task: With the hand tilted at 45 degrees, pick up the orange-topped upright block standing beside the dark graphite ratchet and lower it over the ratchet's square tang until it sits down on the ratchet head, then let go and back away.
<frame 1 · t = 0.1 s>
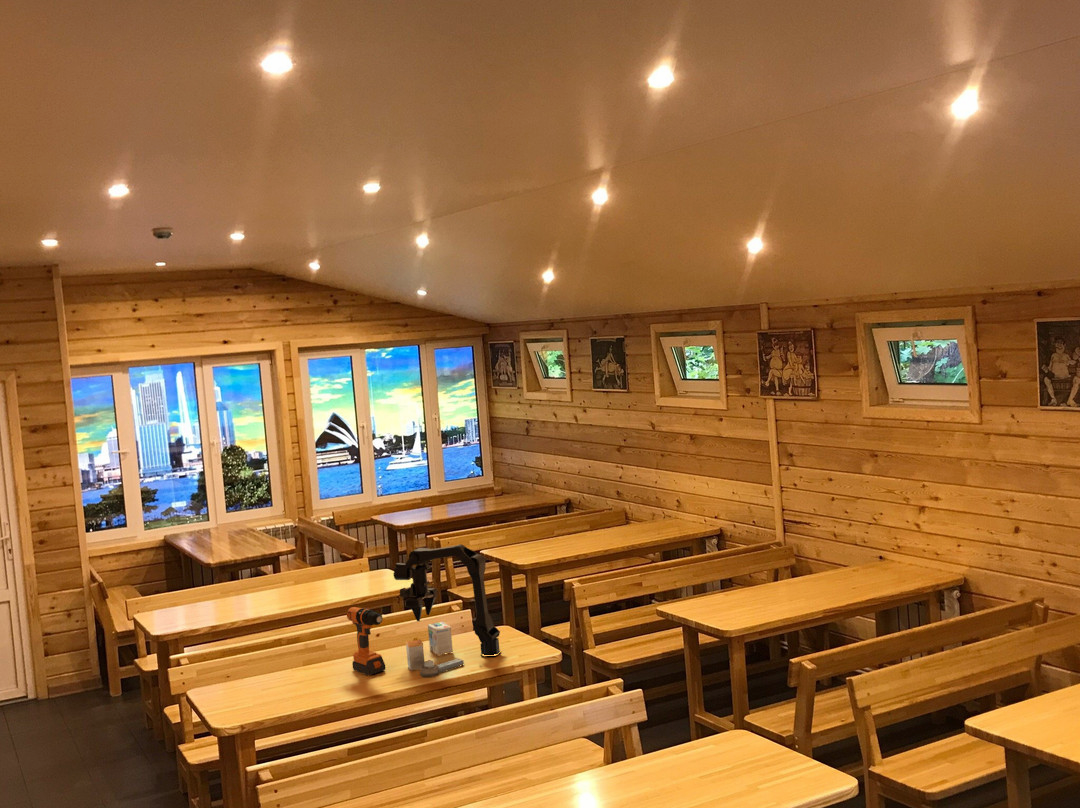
hand: (423, 618, 415), 15 cm above the table, tool pointing down, fingers open, 9 cm apart
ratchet: (429, 674, 388), on the table
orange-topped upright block: (416, 667, 398), on the table
power drill: (372, 672, 397), on the table
light bulb box: (441, 652, 417), on the table
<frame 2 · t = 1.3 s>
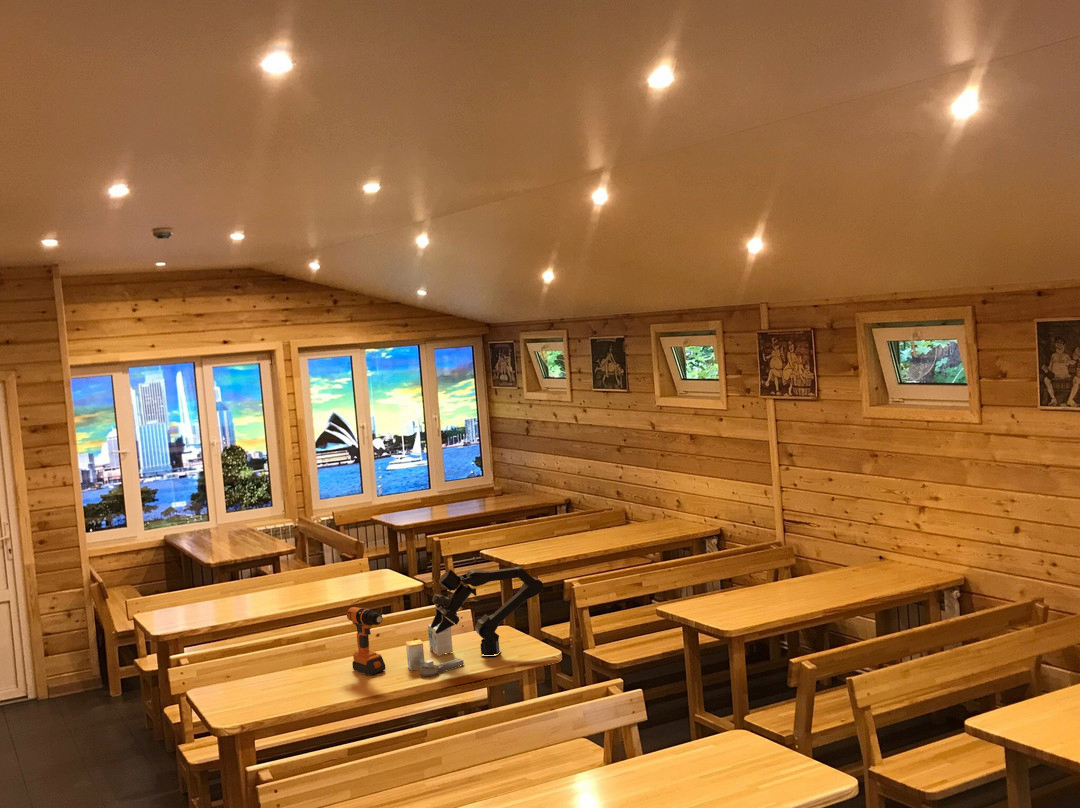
hand: (433, 630, 399), 13 cm above the table, tool tilted 45°, fingers open, 9 cm apart
nothing on the table moved.
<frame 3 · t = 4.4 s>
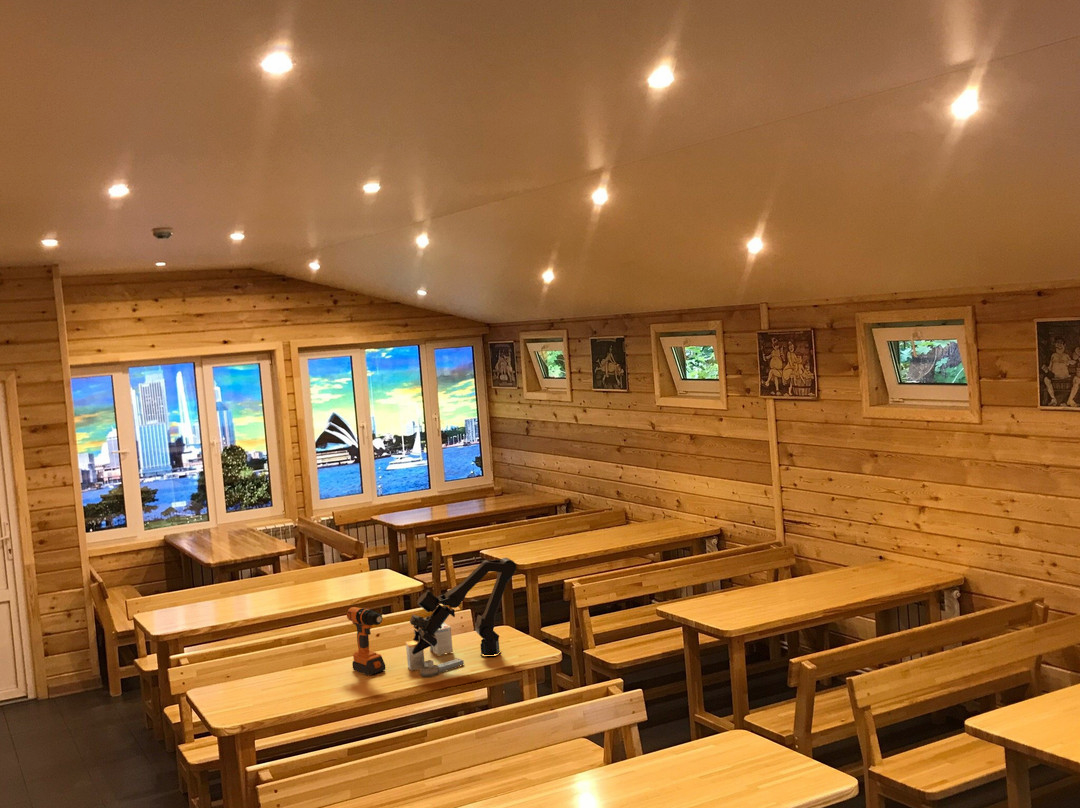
hand: (411, 651, 397), 7 cm above the table, tool tilted 45°, fingers closed on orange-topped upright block, 6 cm apart
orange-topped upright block: (416, 667, 398), on the table, touching gripper
everything else where it was.
when the fingers open (10 cm above the table, at t = 11.0 s): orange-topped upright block stays where it is, resting on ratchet.
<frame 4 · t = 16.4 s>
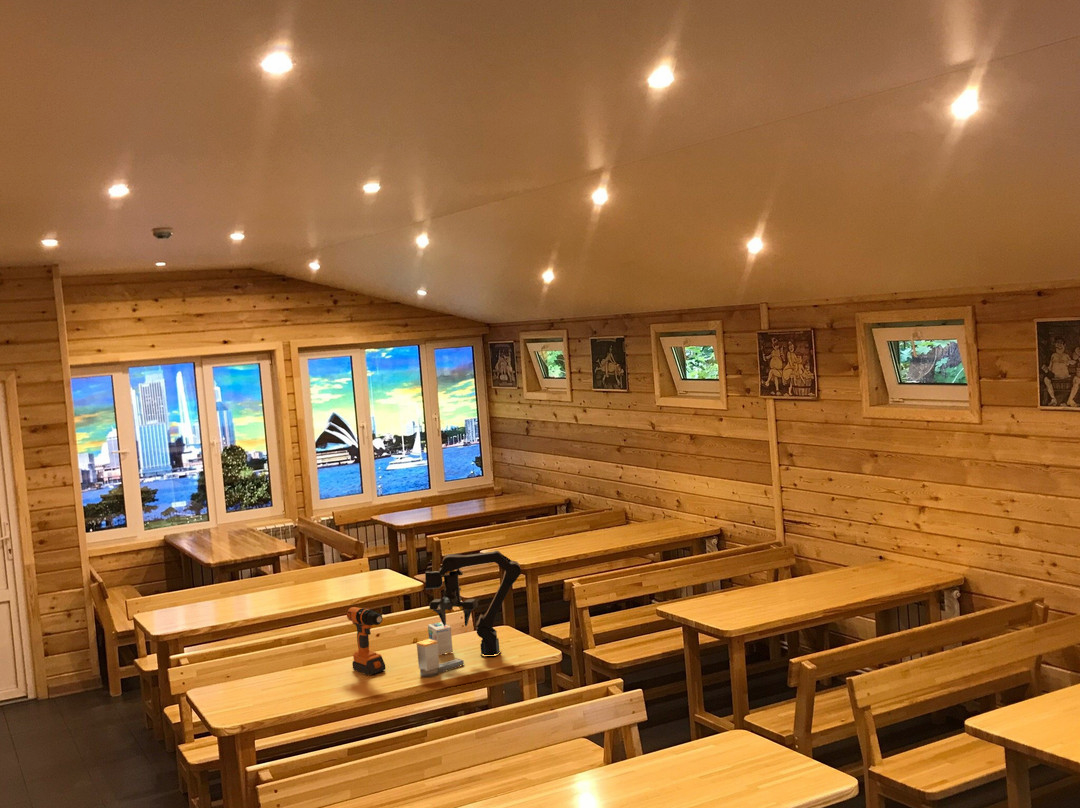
hand: (455, 625, 405), 13 cm above the table, tool pointing down, fingers open, 9 cm apart
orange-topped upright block: (429, 667, 388), point 2 cm above the table, touching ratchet
everything else where it was.
at the end: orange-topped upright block 0.1 cm off-centre on the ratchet, point 2.5 cm above the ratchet's base; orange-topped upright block tilted 0°; the gripper is holding nothing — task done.
